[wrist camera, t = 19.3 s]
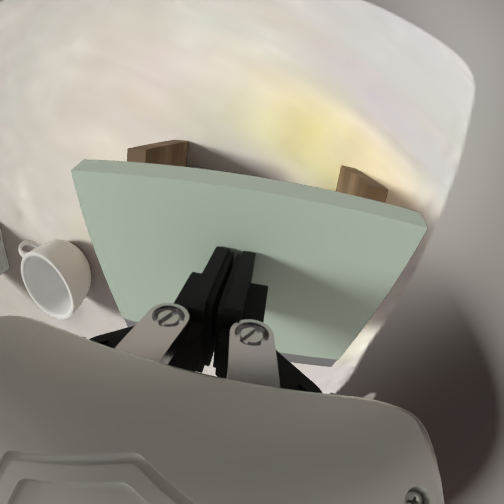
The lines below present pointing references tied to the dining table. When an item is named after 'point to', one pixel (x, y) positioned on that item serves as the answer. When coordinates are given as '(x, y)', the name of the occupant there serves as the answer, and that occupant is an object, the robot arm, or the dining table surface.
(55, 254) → the teacup
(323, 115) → the dining table surface
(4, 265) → the supplement box
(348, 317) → the cover
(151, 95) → the dining table surface
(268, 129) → the dining table surface
